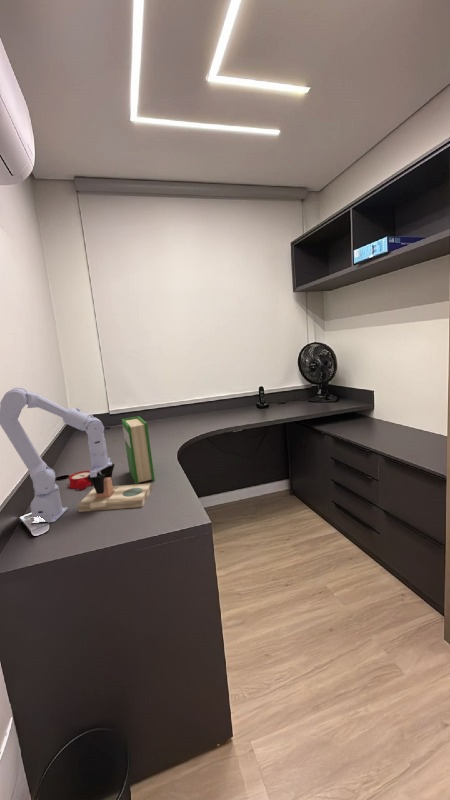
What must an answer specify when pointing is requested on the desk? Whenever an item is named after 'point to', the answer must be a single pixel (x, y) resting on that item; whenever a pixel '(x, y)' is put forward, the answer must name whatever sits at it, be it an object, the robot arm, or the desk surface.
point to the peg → (106, 488)
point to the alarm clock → (79, 480)
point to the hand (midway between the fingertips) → (104, 488)
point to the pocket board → (117, 498)
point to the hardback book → (138, 449)
